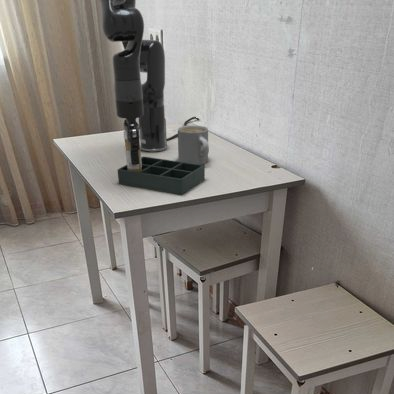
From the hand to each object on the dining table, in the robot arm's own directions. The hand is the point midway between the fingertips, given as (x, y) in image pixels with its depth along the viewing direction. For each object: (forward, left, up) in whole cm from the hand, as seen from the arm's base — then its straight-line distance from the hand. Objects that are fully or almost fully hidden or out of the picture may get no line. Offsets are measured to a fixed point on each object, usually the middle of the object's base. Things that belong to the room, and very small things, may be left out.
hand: (134, 161), depth 141 cm
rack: (-4, +7, -6) cm, 10 cm away
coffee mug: (-26, +7, -6) cm, 27 cm away
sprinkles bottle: (0, 0, -5) cm, 5 cm away
